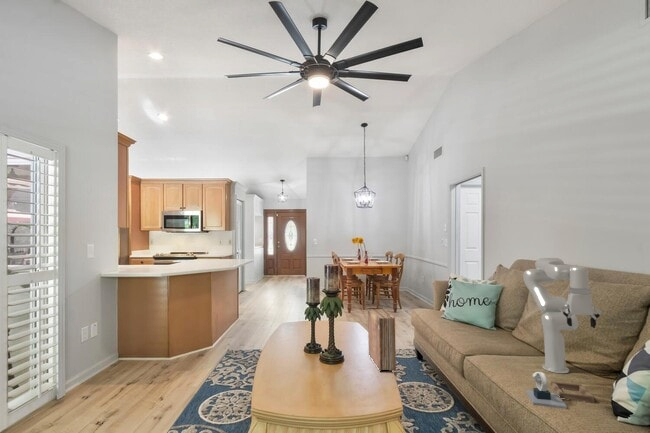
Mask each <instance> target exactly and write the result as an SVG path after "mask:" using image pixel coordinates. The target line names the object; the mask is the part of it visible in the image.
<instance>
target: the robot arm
mask: <svg viewBox="0 0 650 433" xmlns="http://www.w3.org/2000/svg"><path fill="white" fill-rule="evenodd" d="M534 266H535V268H529V269H526V270H524V272H523V275H522V277H523V278H522V279H523V283H524V285H525V287H526V288H527V290H528V291H529V292H530V293H531V295H532V297H533V300H534V301H535V304H536V306H537V308H538V310H539V311H540V312H541V313H543V314H542V315H541V317H540V320H541V323H542V324H541V325H542V329H543V341H544V344H543V345H544V363H542V365H541V366H542V367H541V368H543V370H545V371H547V372H551V373H556V374H568V373H569V372H570V368H569V367H567V365H566V349H565V348H566V347H565V346H566V345H565V337H564V335H563V334H562V333H561V332H560V331H575V330H577V329H578V328H579V321H578V318H577V316H589V317H590V318H589V320H590V327H591V328H593V329H595V328H596V325H597V319H598V318H600V315H601V314H602V312H603V311H602V310H601V309H599V308H597V307H594V302H593V298H592V295H591V294H592V293H593V289H590V284H589V280H590V279H589V269H588V267H586V266H579V265H577V264H565V263H564V261H563V260H562V259H561V258H559V257H542V258H538V259H537V260H536V261H535V263H534ZM557 280H569V286H570V287H569V288H570V290H569V291H570V293H568V295H567V298H564V297H562V296H552V295H550V294H549V293H550V292H549V291H548V289H547V288H546V287H545V286H543V285H542V284H546V283H547V284H552V283H555V282H556V281H557ZM540 283H542V284H540ZM595 312H596V313H595Z"/></svg>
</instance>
